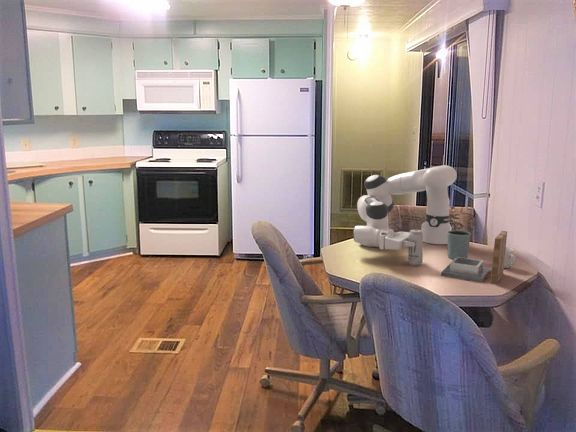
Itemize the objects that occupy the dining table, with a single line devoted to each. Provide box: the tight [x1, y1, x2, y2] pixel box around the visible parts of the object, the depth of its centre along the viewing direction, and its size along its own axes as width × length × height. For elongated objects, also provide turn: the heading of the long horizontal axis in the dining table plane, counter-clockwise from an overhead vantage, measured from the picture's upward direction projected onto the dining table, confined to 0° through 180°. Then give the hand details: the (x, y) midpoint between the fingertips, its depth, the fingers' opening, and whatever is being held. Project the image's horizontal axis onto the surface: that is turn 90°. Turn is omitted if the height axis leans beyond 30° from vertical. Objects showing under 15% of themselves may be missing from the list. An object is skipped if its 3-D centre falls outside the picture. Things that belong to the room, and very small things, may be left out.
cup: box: [503, 246, 516, 269], centre depth 222 cm, size 11×8×8 cm
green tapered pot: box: [447, 229, 472, 261], centre depth 236 cm, size 10×10×12 cm
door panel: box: [490, 230, 508, 285], centre depth 206 cm, size 16×2×18 cm, turn 149°
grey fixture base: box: [440, 257, 492, 283], centre depth 214 cm, size 18×16×5 cm
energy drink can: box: [407, 229, 424, 267], centre depth 223 cm, size 6×6×15 cm
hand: (417, 242), depth 223 cm, fingers closed on energy drink can, 6 cm apart
